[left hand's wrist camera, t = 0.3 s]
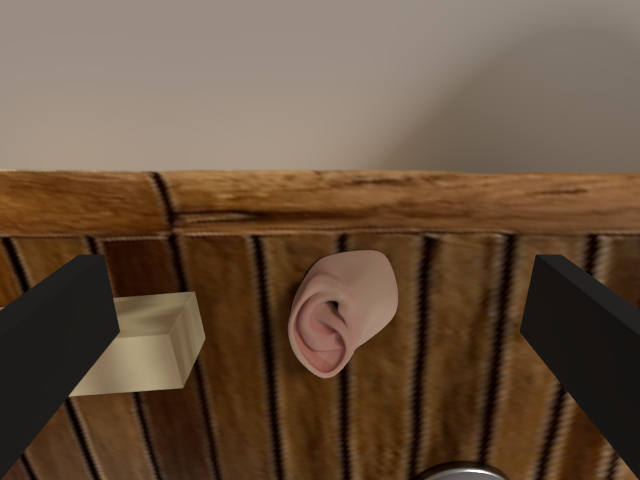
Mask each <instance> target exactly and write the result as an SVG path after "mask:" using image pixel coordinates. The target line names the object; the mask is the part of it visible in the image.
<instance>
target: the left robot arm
mask: <svg viewBox="0 0 640 480" xmlns="http://www.w3.org/2000/svg"><path fill="white" fill-rule="evenodd" d="M119 333H120V328H119V323H118V319H117V314H116V309H115V304H114V300H113V295H112V290H111V285H110V281H109V276H108V271H107V266H106V262H105V257H104V255H78V256H76V257H75V258H73V259H72V260H71V261H69V262H68V263H66V264H65V265H64V266H62V267H61V268H59V269H58V270H57V271H55V272H54V273H52V274H51V275H49V276H48V277H47V278H45V279H44V280H42V281H41V282H40V283H38V284H37V285H35V286H34V287H33V288H31V289H30V290H28V291H27V292H25V293H24V294H23V295H21V296H20V297H18V298H17V299H16V300H14V301H13V302H11V303H10V304H9V305H7V306H6V307H4V308H3V309H1V310H0V480H1V479H2V478H3V477H4V476H5V474H6V473H7V472H8V471H9V469H10V468H11V467H12V466H13V464H14V463H15V462H16V461H17V459H18V458H19V457H20V456H21V454H22V453H23V452H24V451H25V450H26V448H27V447H28V446H29V445H30V443H31V442H32V441H33V440H34V438H35V437H36V436H37V435H38V433H39V432H40V431H41V430H42V428H43V427H44V426H45V425H46V423H47V422H48V421H49V420H50V418H51V417H52V416H53V415H54V414H55V412H56V411H57V410H58V409H59V407H60V406H61V405H62V404H63V402H64V401H65V400H66V399H67V397H68V396H69V395H70V394H71V392H72V391H73V390H74V389H75V387H76V386H77V385H78V384H79V382H80V381H81V380H82V379H83V378H84V376H85V375H86V374H87V373H88V371H89V370H90V369H91V368H92V366H93V365H94V364H95V363H96V361H97V360H98V359H99V358H100V356H101V355H102V354H103V353H104V351H105V350H106V349H107V348H108V346H109V345H110V344H111V343H112V342H113V340H114V339H115V338H116V337H117V335H118V334H119ZM520 333H521V334H522V335H523V337H524V338H525V339H526V340H527V342H528V343H529V344H530V345H531V346H532V348H533V349H534V350H535V351H536V353H537V354H538V355H539V356H540V358H541V359H542V360H543V361H544V363H545V364H546V365H547V366H548V368H549V369H550V370H551V371H552V373H553V374H554V375H555V376H556V378H557V379H558V380H559V381H560V382H561V384H562V385H563V386H564V387H565V389H566V390H567V391H568V392H569V394H570V395H571V396H572V397H573V399H574V400H575V401H576V402H577V404H578V405H579V406H580V407H581V409H582V410H583V411H584V412H585V414H586V415H587V416H588V417H589V418H590V420H591V421H592V422H593V423H594V425H595V426H596V427H597V428H598V430H599V431H600V432H601V433H602V435H603V436H604V437H605V438H606V440H607V441H608V442H609V443H610V445H611V446H612V447H613V448H614V450H615V451H616V452H617V453H618V454H619V456H620V457H621V458H622V459H623V461H624V462H625V463H626V464H627V466H628V467H629V468H630V469H631V471H632V472H633V473H634V474H635V476H636V477H637V478H638V479H639V480H640V310H639V309H637V308H636V307H634V306H633V305H631V304H630V303H629V302H627V301H626V300H624V299H623V298H622V297H620V296H619V295H617V294H616V293H615V292H613V291H612V290H610V289H609V288H607V287H606V286H605V285H603V284H602V283H600V282H599V281H598V280H596V279H595V278H593V277H592V276H591V275H589V274H588V273H586V272H585V271H583V270H582V269H581V268H579V267H578V266H576V265H575V264H574V263H572V262H571V261H569V260H568V259H567V258H565V257H564V256H562V255H536V257H535V262H534V266H533V271H532V276H531V281H530V285H529V290H528V295H527V300H526V304H525V309H524V314H523V319H522V323H521V328H520ZM415 480H509V478H508V477H507V476H506V475H505V474H504V473H502V472H501V471H499V470H498V469H496V468H494V467H492V466H489V465H486V464H483V463H477V462H453V463H448V464H444V465H440V466H437V467H435V468H432V469H430V470H428V471H426V472H425V473H423V474H421V475H420V476H419V477H417V478H416V479H415Z"/></svg>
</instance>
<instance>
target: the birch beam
mask: <svg viewBox="0 0 640 480" xmlns="http://www.w3.org/2000/svg"><path fill="white" fill-rule="evenodd" d="M113 300H114V304H115V309H116V314H117V319H118V323H119V328H120V333H119V334H118V335H117V337H116V338H115V339H114V340H113V342H112V343H111V344H110V345H109V346H108V348H107V349H106V350H105V351H104V353H103V354H102V355H101V356H100V358H99V359H98V360H97V361H96V363H95V364H94V365H93V366H92V368H91V369H90V370H89V371H88V373H87V374H86V375H85V376H84V378H83V379H82V380H81V381H80V382H79V384H78V385H77V386H76V387H75V389H74V390H73V391H72V392H71V394H70V395H69V396H81V395H95V394H108V393H122V392H135V391H149V390H162V389H175V388H183V387H184V385H185V382H186V380H187V378H188V376H189V374H190V371H191V369H192V367H193V365H194V362H195V360H196V358H197V356H198V354H199V351H200V349H201V347H202V345H203V342H204V340H205V334H204V330H203V325H202V321H201V317H200V312H199V308H198V304H197V299H196V295H195V292H182V293H170V294H158V295H146V296H134V297H122V298H113ZM3 308H4V307H0V310H1V309H3Z"/></svg>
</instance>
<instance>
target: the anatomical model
mask: <svg viewBox="0 0 640 480" xmlns="http://www.w3.org/2000/svg"><path fill="white" fill-rule="evenodd" d="M397 306H398V289H397V284H396V279H395V276H394V272H393V269H392V267H391V265H390V262H389V261H388V259H387V258H386V256H385V255H384V254H382V253H381V252H378V251H374V250H360V251H349V252H342V253H338V254H334V255H329V256H326V257H324V258H322V259H320V260H319V261H317V262H316V263H315V264H314V265H313V267H312V268H311V269H310V271H309V272H308V274H307V275H306V277H305V278H304V280H303V282H302V283H301V285H300V287H299V289H298V291H297V293H296V295H295V298H294V301H293V304H292V309H291V314H290V317H289V322H288V336H289V340H290V344H291V347H292V349H293V351H294V353H295V355H296V357H297V358H298V359H299V361H300V362H301V363H302V364H303V365H304V366H305V367H306V368H307V369H308V370H310V371H311V372H312V373H314V374H315V375H317V376H319V377H322V378H329V377H332V376H334V375H336V374H337V373H338V372H339V371H340V370H341V369H342V368H343V367H344V366H345V365H346V363H347V362H348V361H349V359H350V358H351V356H352V354H353V353H354V351H355V349H356V348H357V347H359V346H360V345H362V344H363V343H365V342H366V341H367V340H369V339H370V338H371V337H373V336H374V335H375V334H376V333H378V332H379V331H380V330H381V329H382V328H384V327H385V326H386V325H387V324H388V323H389V322H390V320H391V319H392V318H393V316H394V315H395V313H396V310H397Z"/></svg>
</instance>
